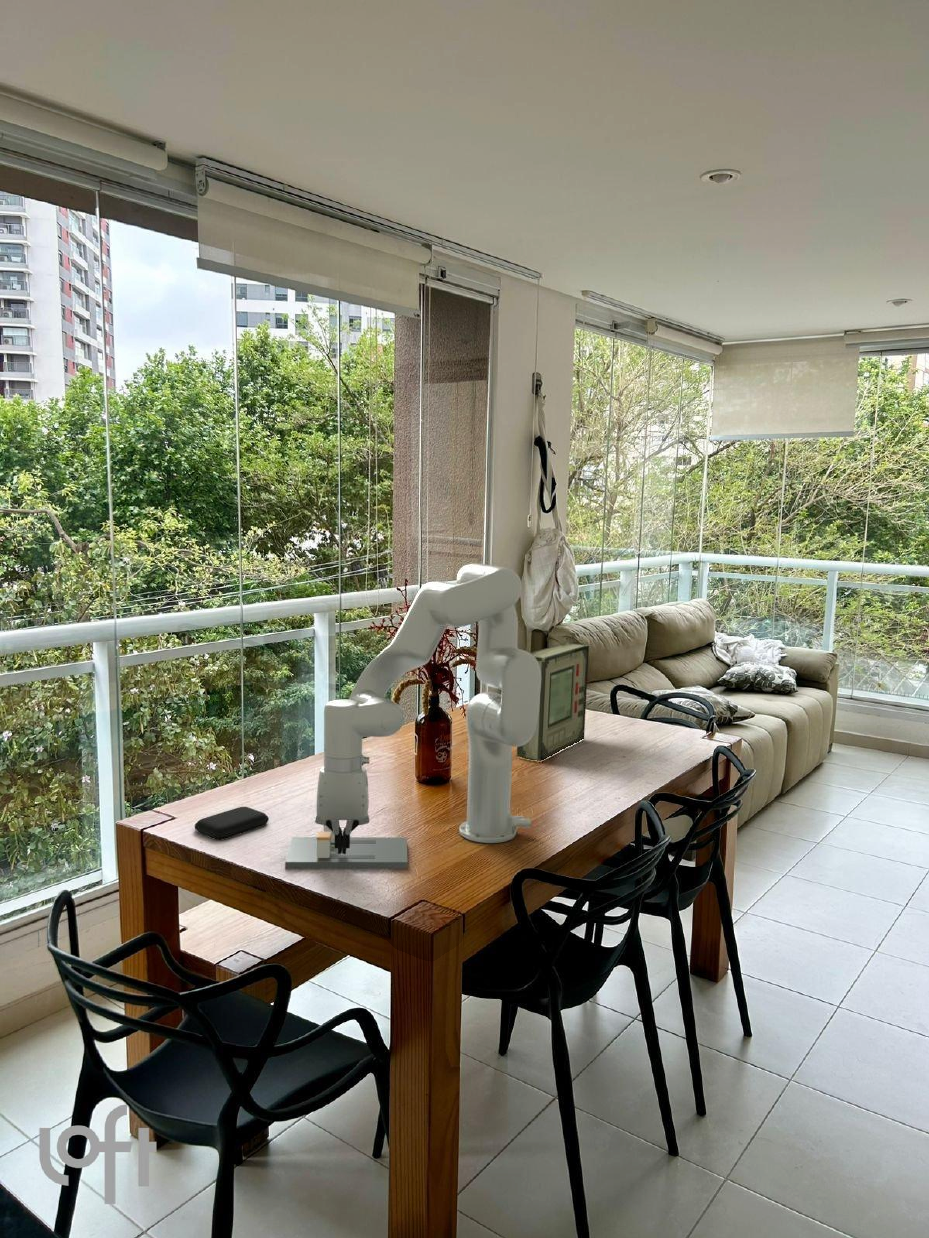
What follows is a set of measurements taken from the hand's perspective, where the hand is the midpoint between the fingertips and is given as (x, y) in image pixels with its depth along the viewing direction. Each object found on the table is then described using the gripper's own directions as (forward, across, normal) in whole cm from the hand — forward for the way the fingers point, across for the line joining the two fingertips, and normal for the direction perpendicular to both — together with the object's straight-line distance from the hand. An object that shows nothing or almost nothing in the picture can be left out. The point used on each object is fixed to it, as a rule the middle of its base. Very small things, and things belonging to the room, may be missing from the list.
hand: (342, 851), depth 181 cm
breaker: (+1, +3, -8) cm, 9 cm away
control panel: (+4, -58, -85) cm, 102 cm away
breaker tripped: (+1, +4, 0) cm, 4 cm away
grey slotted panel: (+3, -1, -4) cm, 5 cm away
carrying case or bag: (+3, +25, -20) cm, 33 cm away
